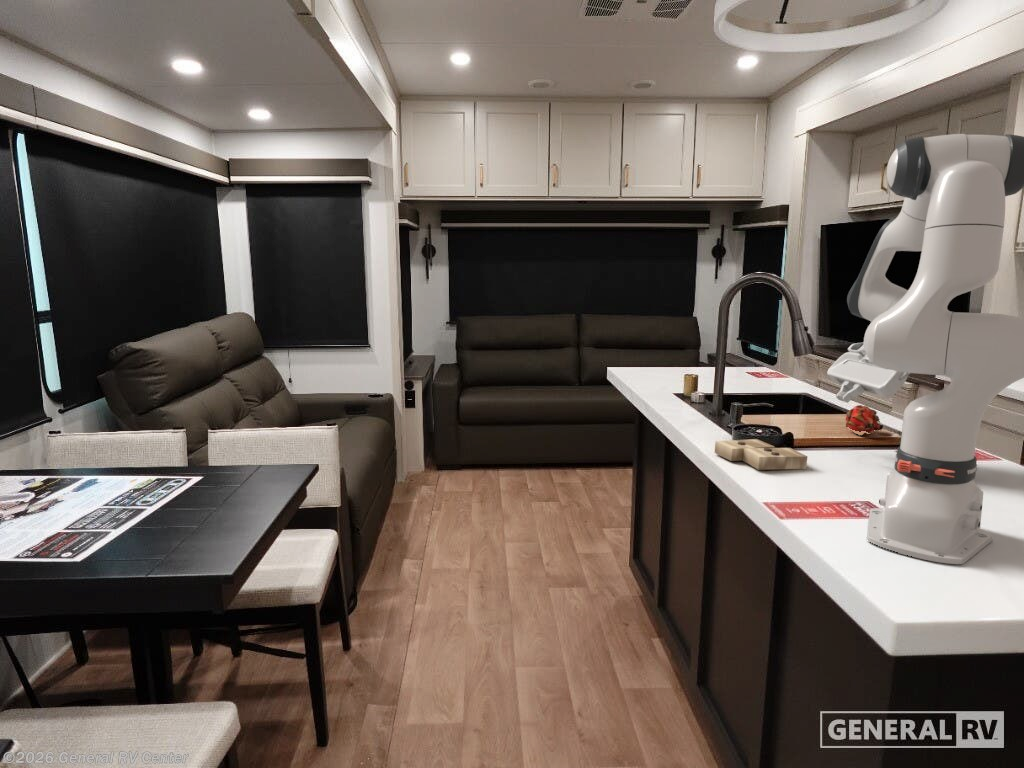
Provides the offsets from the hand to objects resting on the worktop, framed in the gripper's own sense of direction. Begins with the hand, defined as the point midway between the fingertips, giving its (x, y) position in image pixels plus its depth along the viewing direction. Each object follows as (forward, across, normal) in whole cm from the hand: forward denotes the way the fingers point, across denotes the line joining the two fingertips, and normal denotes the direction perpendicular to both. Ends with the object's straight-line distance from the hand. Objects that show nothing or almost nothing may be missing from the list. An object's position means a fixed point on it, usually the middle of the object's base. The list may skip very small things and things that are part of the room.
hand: (841, 399), depth 153 cm
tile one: (+20, +8, 0) cm, 21 cm away
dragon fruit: (-5, +19, -26) cm, 33 cm away
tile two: (+17, -1, -2) cm, 17 cm away
